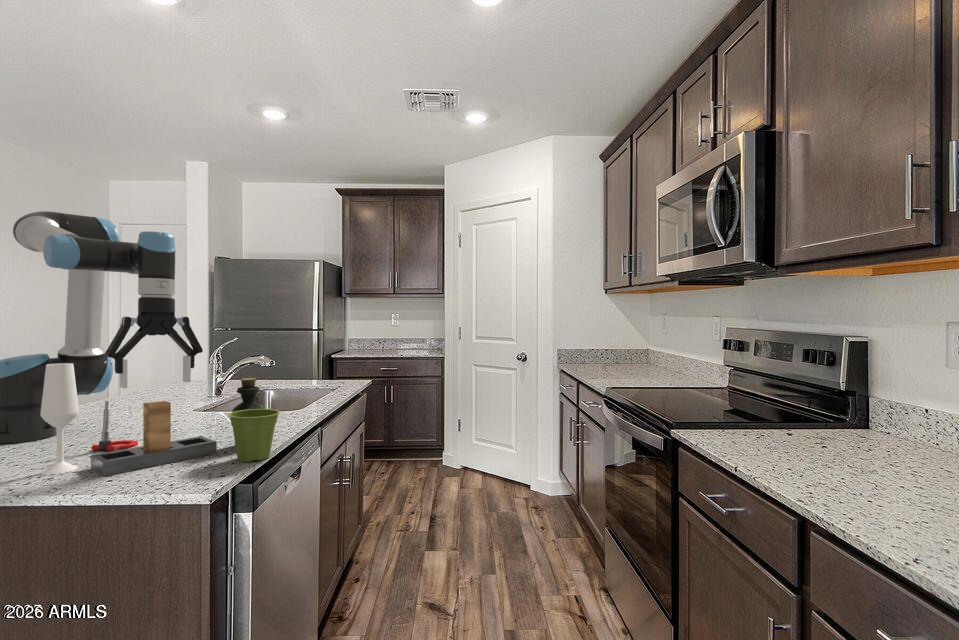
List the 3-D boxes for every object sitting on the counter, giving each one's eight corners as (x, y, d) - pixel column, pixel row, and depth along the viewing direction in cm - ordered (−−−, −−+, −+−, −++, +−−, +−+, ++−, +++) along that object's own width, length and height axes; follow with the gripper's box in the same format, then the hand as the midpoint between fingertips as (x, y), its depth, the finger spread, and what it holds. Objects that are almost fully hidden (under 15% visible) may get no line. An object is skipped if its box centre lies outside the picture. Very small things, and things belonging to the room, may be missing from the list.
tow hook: (118, 443, 140) (87, 450, 131) (120, 396, 141) (90, 400, 132) (145, 445, 139) (116, 452, 130) (147, 397, 139) (118, 402, 130)
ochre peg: (143, 460, 122) (143, 402, 122) (163, 456, 126) (163, 400, 126) (150, 464, 120) (150, 405, 120) (170, 460, 123) (170, 402, 123)
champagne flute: (83, 464, 119) (83, 362, 119) (72, 473, 113) (71, 365, 113) (48, 467, 117) (48, 363, 116) (34, 476, 110) (34, 366, 110)
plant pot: (274, 464, 120) (274, 416, 120) (220, 466, 118) (220, 418, 118) (284, 451, 132) (284, 407, 132) (236, 452, 130) (236, 408, 130)
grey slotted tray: (90, 468, 116) (90, 455, 116) (201, 447, 135) (201, 436, 135) (103, 476, 111) (102, 462, 111) (216, 453, 129) (216, 441, 129)
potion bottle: (224, 448, 134) (224, 380, 134) (243, 441, 142) (243, 376, 142) (253, 450, 133) (253, 381, 132) (270, 442, 141) (270, 377, 140)
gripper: (98, 294, 110) (98, 392, 111) (217, 298, 130) (216, 381, 130) (88, 295, 115) (88, 388, 115) (204, 298, 134) (203, 378, 135)
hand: (156, 384), depth 123 cm, fingers open, 13 cm apart
